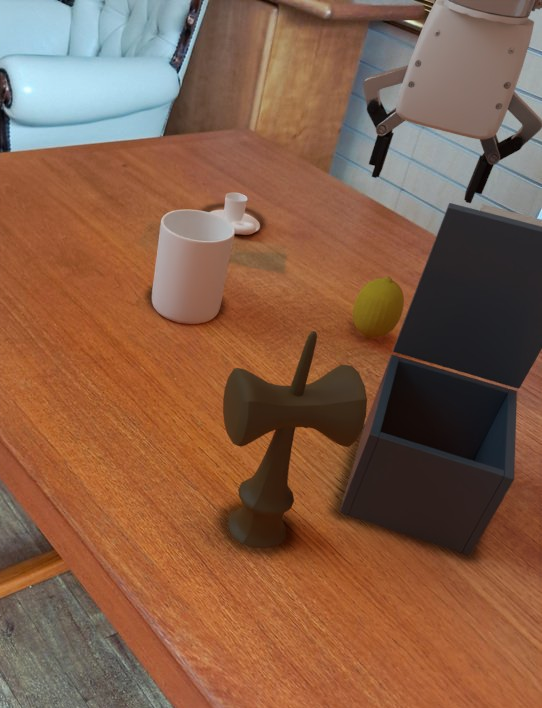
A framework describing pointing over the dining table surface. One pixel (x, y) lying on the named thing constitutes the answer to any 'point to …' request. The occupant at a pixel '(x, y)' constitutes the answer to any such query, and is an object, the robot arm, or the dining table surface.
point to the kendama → (285, 435)
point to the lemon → (378, 307)
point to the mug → (191, 265)
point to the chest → (434, 455)
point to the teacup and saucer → (238, 214)
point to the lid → (479, 296)
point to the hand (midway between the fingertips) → (421, 185)
